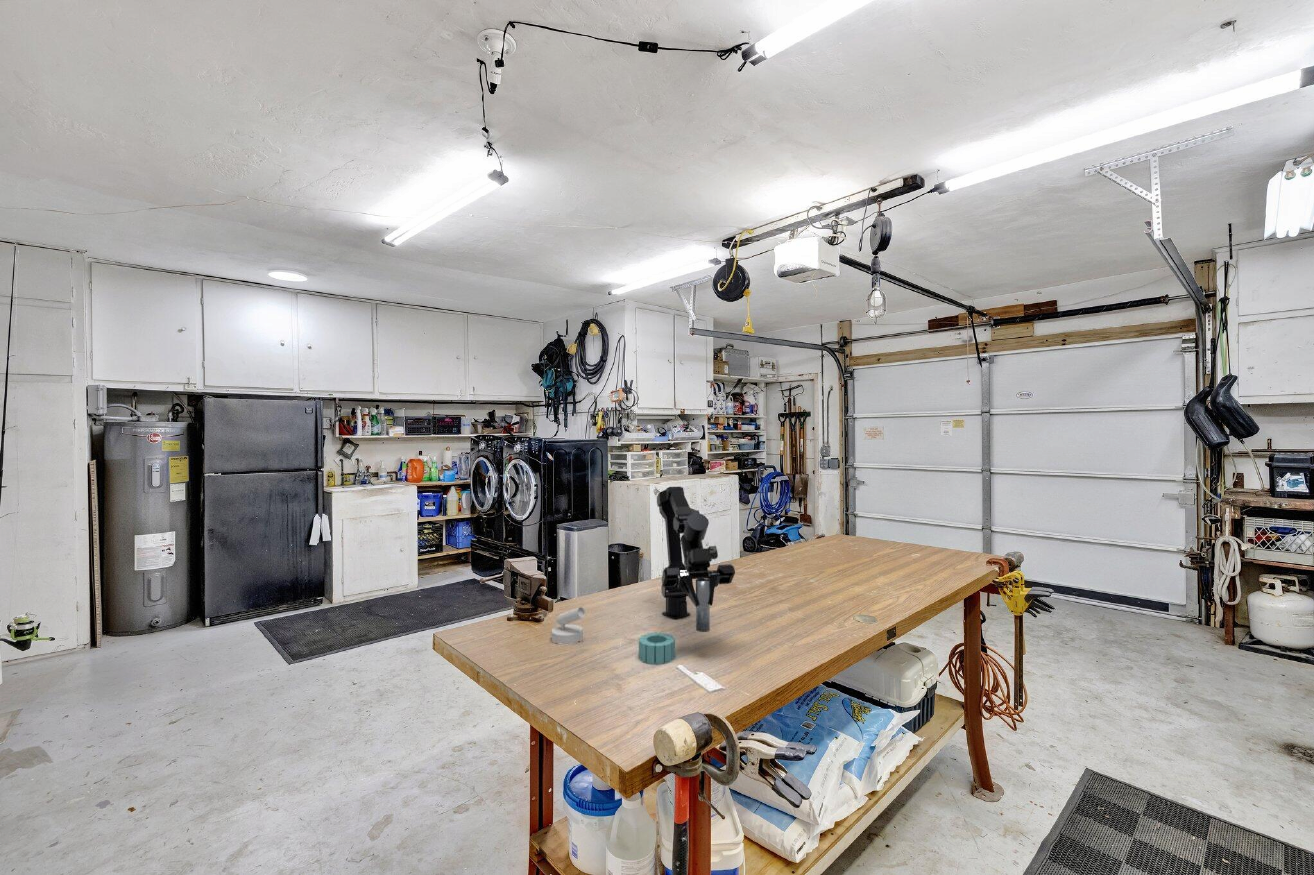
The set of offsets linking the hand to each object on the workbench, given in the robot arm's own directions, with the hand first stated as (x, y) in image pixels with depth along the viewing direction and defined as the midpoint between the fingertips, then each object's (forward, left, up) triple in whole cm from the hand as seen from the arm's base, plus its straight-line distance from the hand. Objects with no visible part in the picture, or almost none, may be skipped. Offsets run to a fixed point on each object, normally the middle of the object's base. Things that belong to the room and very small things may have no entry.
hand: (704, 605), depth 139 cm
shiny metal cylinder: (-1, +1, -7) cm, 7 cm away
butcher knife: (+7, -8, -14) cm, 18 cm away
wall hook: (-34, -19, -14) cm, 41 cm away
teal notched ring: (-9, -8, -13) cm, 18 cm away
